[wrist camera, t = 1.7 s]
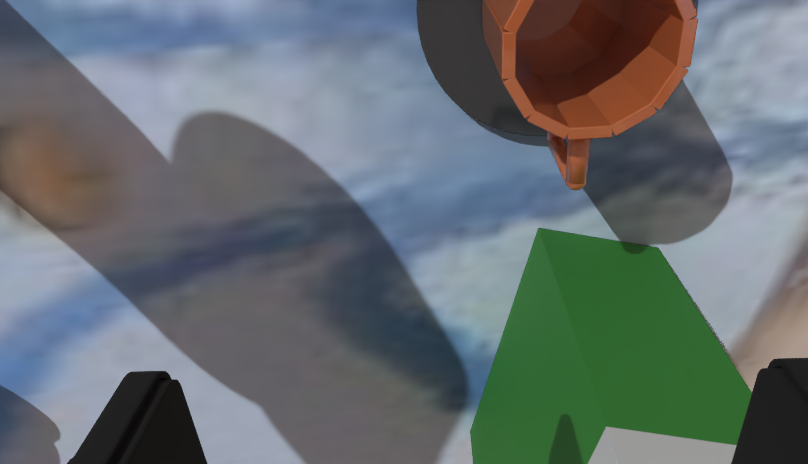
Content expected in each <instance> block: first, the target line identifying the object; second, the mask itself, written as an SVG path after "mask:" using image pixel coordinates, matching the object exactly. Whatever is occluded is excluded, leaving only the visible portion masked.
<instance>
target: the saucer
mask: <svg viewBox="0 0 808 464" xmlns="http://www.w3.org/2000/svg"><path fill="white" fill-rule="evenodd" d="M417 20H418V31H419V35H420V40H421V45H422V48H423V51H424V54H425V57H426V60H427V63H428V65H429V67H430V69H431V71H432V73H433V75H434V76H435V78H436V80H437V81H438V83H439V84H440V86H441V87H442V88H443V90H444V91H445V92H446V94H447V95H448V96H449V97H450V98H451V99H452V100H453V101H454V102H455V103H456V104H457V105H458V106H459V107H460V108H462V109H463V110H464V111H465V112H466V113H468V114H469V115H471V116H472V117H474V118H476V119H477V120H479V121H480V122H483V123H485V124H487V125H489V126H491V127H494V128H496V129H499V130H503V131H506V132H509V133H514V134H520V135H528V136H547V131H546V130H544V129H542V128H540V127H538V126H536V125H534V124H532V123H530V122H528V121H527V119H526V118H524V117H523V115H522V114H521V112H520V110H519V109H518V107H517V105H516V104H515V102H514V100H513V99H512V97H511V95H510V94H509V92H508V91H507V89H506V87H505V86H504V84H503V81H502V79H501V77H500V74H499V72H498V69H497V67H496V65H495V62H494V60H493V57H492V55H491V52H490V50H489V48H488V45H487V43H486V40H485V38H484V34H483V31H482V0H417Z"/></svg>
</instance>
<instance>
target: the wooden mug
mask: <svg viewBox="0 0 808 464" xmlns="http://www.w3.org/2000/svg"><path fill="white" fill-rule="evenodd" d="M695 16H697V12H696V9H695V7H694V5H693V2H692V0H482V31H483V34H484V38H485V40H486V43H487V45H488V48H489V50H490V52H491V55H492V57H493V60H494V62H495V65H496V67H497V69H498V72H499V74H500V77H501V79H502V81H503V84H504V86H505V87H506V89H507V91H508V92H509V94H510V95H511V97H512V99H513V100H514V102H515V104H516V105H517V107H518V109H519V110H520V112H521V114H522V115H523V117H524V118H526V119H527V121H528V122H530V123H532V124H534V125H536V126H538V127H540V128H542V129H544V130H546V131H547V145H548V147H549V149H550V151H551V154H552V156H553V158H554V160H555V162H556V164H557V166H558V168H559V170H560V172H561V174H562V176H563V178H564V180H565V183H566V185H567V186H568V187H569V188H570V189H572V190H580V189H582V188H583V187H584V186H585V185H586V183H587V176H588V165H589V153H590V141H591V138H608V137H612V133H613V134H614V135H615V136H617V135H619V134H620V133H622V132H624V131H626V130H627V129H629V128H631V127H633V126H635V125H636V124H638V123H640V122H642V121H643V120H645V119H647V118H649V117H650V116H652V115H654V114H656V110H655V108H656V109H658V110H660V109H661V108H662V106H663V105H664V104H665V102H666V101H667V100H668V98H669V97H670V95H671V94H672V93H673V91H674V90H675V89H676V87H677V86H678V84H679V83H680V82H681V80H682V79H683V78H684V76H685V75H686V73H687V72H688V69H686V68H685V67H690V65H691V59H692V53H693V47H694V41H695V35H696V29H697V23H698V19H697V18H695ZM566 137H567V139H568V142H567V140H566Z"/></svg>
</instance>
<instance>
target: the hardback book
mask: <svg viewBox="0 0 808 464" xmlns="http://www.w3.org/2000/svg"><path fill="white" fill-rule="evenodd" d="M751 395H752V392H751V391H750V389H749V388H748V386H747V384H746V383H745V381H744V380H743V378H742V377H741V375H740V374H739V372H738V371H737V369H736V367H735V366H734V364H733V363H732V361H731V360H730V358H729V357H728V355H727V353H726V352H725V350H724V349H723V347H722V346H721V344H720V343H719V341H718V340H717V338H716V336H715V335H714V333H713V332H712V330H711V329H710V327H709V326H708V324H707V322H706V321H705V319H704V318H703V316H702V315H701V313H700V312H699V310H698V309H697V307H696V305H695V304H694V302H693V301H692V299H691V298H690V296H689V295H688V293H687V292H686V290H685V288H684V287H683V285H682V284H681V282H680V281H679V279H678V278H677V276H676V274H675V273H674V271H673V270H672V268H671V267H670V265H669V264H668V262H667V261H666V259H665V257H664V256H663V254H662V253H661V251H660V250H659V248H656V247H650V246H644V245H638V244H632V243H626V242H620V241H614V240H608V239H602V238H596V237H590V236H584V235H578V234H572V233H566V232H560V231H554V230H548V229H542V228H538V231H537V234H536V237H535V240H534V243H533V246H532V249H531V252H530V255H529V258H528V261H527V264H526V267H525V270H524V273H523V276H522V279H521V282H520V285H519V288H518V291H517V294H516V297H515V300H514V303H513V306H512V309H511V312H510V315H509V318H508V321H507V324H506V327H505V329H504V332H503V335H502V338H501V341H500V344H499V347H498V350H497V353H496V356H495V359H494V362H493V365H492V368H491V371H490V374H489V377H488V380H487V383H486V386H485V389H484V392H483V395H482V398H481V401H480V404H479V407H478V410H477V413H476V416H475V419H474V422H473V425H472V428H471V431H470V434H471V445H472V456H473V464H731V463H732V459H733V456H734V452H735V449H736V446H737V442H738V439H739V436H740V432H741V429H742V425H743V422H744V419H745V415H746V412H747V409H748V405H749V402H750V398H751Z"/></svg>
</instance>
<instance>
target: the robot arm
mask: <svg viewBox="0 0 808 464" xmlns="http://www.w3.org/2000/svg"><path fill="white" fill-rule="evenodd" d="M67 464H207V462H206V459H205V456H204V453H203V450H202V447H201V444H200V441H199V438H198V435H197V432H196V429H195V426H194V423H193V420H192V417H191V414H190V411H189V408H188V405H187V402H186V399H185V396H184V393H183V390H182V387H181V385H180V383H179V381H178V380H172V379H171V377H170V375H169V374H168V373H167V372H166V371H143V372H130V373H128V374H127V375H126V376H125V377H124V378H123V380H122V382H121V383H120V385H119V386H118V388H117V389H116V391H115V393H114V394H113V396H112V397H111V399H110V401H109V402H108V404H107V405H106V407H105V408H104V410H103V412H102V413H101V415H100V416H99V418H98V420H97V421H96V423H95V424H94V426H93V428H92V429H91V431H90V432H89V434H88V435H87V437H86V439H85V440H84V442H83V443H82V445H81V447H80V448H79V450H78V451H77V453H76V454H75V456H74V457H73V458H72V459H70V461H69V462H68V463H67ZM731 464H808V358H786V359H774V360H772V361H771V362H770V364H769V366H768V368H764V369H761V370H760V371H759V373H758V375H757V378H756V382H755V385H754V388H753V392H752V395H751V398H750V402H749V405H748V409H747V412H746V415H745V419H744V422H743V425H742V429H741V432H740V436H739V439H738V442H737V446H736V449H735V452H734V456H733V459H732V463H731Z"/></svg>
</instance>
